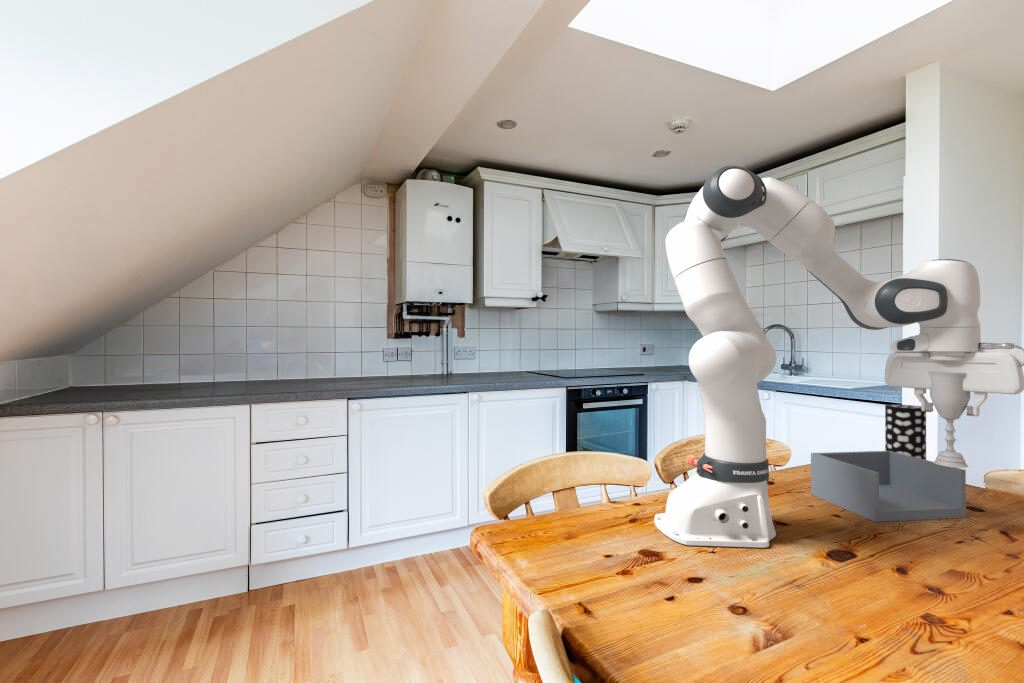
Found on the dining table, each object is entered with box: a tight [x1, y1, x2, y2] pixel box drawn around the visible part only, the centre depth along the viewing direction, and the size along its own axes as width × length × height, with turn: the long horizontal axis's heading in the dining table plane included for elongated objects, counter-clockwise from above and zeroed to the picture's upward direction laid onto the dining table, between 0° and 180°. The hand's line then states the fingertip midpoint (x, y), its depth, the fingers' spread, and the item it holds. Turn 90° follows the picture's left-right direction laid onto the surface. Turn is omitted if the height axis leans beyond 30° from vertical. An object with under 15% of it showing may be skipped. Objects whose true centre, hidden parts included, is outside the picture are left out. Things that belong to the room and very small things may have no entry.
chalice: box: [928, 372, 971, 469], centre depth 94 cm, size 7×7×18 cm
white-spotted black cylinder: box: [884, 403, 927, 460], centre depth 126 cm, size 8×8×20 cm
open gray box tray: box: [810, 450, 967, 523], centre depth 109 cm, size 21×18×10 cm
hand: (949, 413), depth 94 cm, fingers closed on chalice, 5 cm apart
